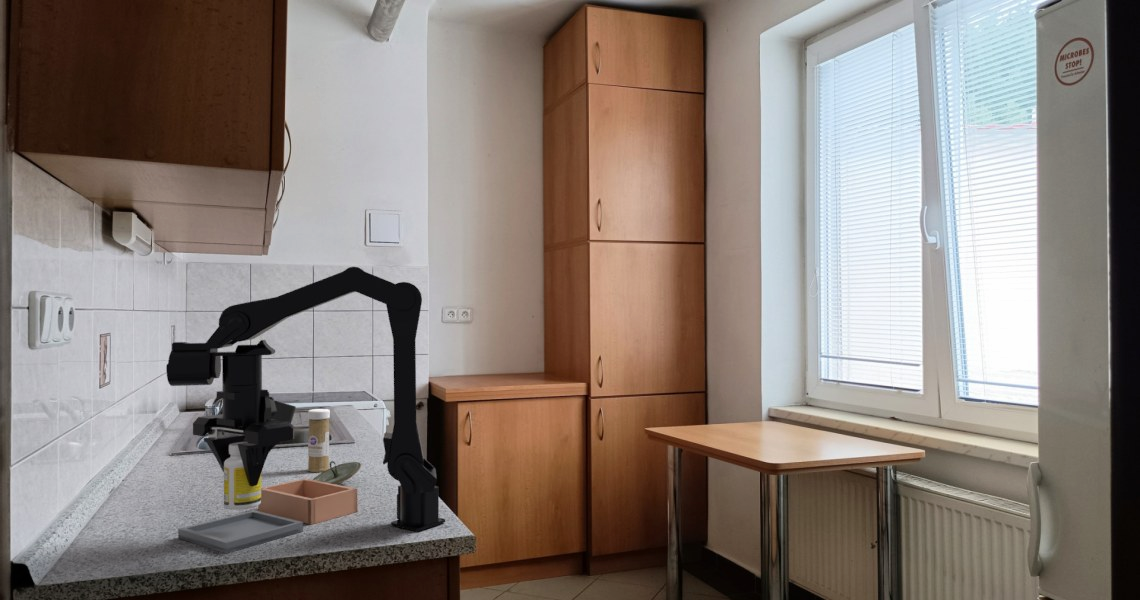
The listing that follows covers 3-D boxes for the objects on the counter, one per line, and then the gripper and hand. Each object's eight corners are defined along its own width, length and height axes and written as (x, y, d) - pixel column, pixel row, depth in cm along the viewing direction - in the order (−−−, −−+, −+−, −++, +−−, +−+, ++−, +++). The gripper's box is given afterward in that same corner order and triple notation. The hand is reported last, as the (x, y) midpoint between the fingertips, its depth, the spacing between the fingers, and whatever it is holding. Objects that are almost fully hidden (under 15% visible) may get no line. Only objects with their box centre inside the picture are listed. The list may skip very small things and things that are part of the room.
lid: (368, 486, 151) (368, 461, 151) (318, 493, 145) (318, 467, 145) (350, 477, 159) (350, 453, 159) (303, 483, 154) (303, 459, 154)
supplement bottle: (268, 502, 120) (268, 441, 120) (245, 511, 115) (245, 447, 115) (239, 500, 121) (240, 439, 122) (215, 509, 116) (215, 445, 116)
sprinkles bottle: (304, 472, 164) (304, 410, 164) (312, 468, 168) (312, 408, 168) (325, 472, 164) (325, 410, 164) (332, 468, 168) (332, 408, 168)
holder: (357, 511, 132) (357, 488, 132) (311, 524, 124) (311, 500, 124) (304, 500, 140) (304, 478, 140) (258, 511, 132) (258, 488, 132)
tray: (302, 531, 120) (302, 522, 120) (226, 553, 109) (226, 543, 109) (254, 519, 127) (254, 510, 127) (178, 538, 116) (178, 528, 116)
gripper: (323, 382, 120) (323, 480, 120) (253, 377, 130) (253, 467, 130) (260, 389, 111) (260, 495, 110) (190, 383, 121) (191, 480, 121)
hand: (242, 483), depth 118 cm, fingers closed on supplement bottle, 5 cm apart
